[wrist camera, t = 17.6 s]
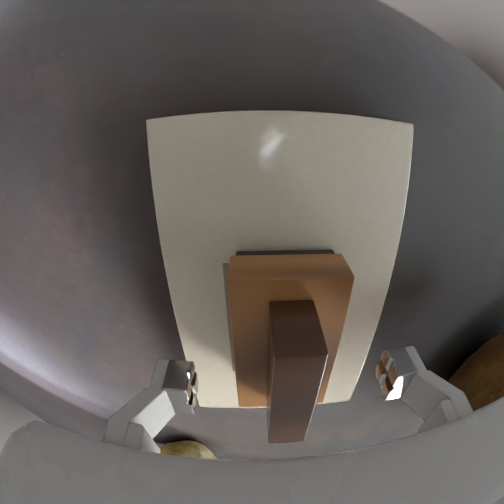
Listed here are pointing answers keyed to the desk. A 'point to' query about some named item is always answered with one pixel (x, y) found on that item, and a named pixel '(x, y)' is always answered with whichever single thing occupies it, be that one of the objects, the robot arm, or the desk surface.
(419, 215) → the desk surface
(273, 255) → the brush
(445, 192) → the desk surface
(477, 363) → the bowl
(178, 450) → the fruit
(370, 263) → the tile
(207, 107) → the desk surface
